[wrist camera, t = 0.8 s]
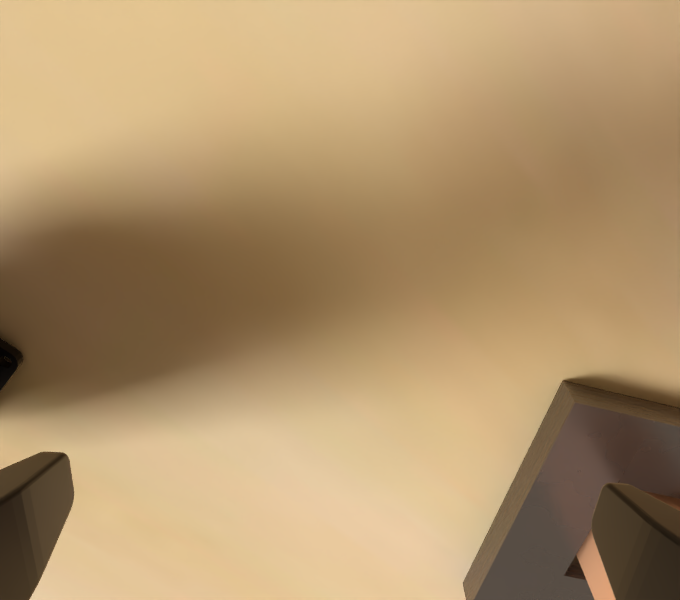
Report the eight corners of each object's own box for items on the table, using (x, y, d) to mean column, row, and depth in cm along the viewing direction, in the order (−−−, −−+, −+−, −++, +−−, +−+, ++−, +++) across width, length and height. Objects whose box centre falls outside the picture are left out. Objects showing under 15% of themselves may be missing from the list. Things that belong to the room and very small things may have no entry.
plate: (462, 583, 30) (468, 610, 28) (562, 380, 25) (574, 402, 23) (689, 628, 31) (705, 657, 29) (829, 443, 26) (856, 468, 24)
